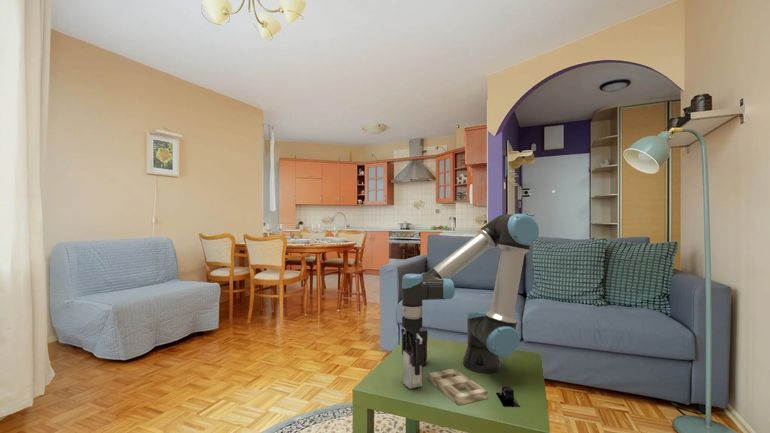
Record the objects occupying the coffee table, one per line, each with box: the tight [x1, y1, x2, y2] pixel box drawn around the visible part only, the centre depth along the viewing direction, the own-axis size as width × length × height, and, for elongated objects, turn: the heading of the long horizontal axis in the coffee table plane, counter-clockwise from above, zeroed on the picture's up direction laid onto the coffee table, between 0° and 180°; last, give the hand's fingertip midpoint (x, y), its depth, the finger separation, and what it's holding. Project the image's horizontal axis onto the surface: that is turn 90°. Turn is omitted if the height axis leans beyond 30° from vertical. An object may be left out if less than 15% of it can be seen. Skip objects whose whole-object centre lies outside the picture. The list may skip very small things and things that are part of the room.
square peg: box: [402, 349, 423, 390], centre depth 128 cm, size 5×5×12 cm
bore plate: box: [427, 368, 489, 406], centre depth 127 cm, size 12×20×2 cm, turn 23°
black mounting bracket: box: [495, 384, 521, 408], centre depth 119 cm, size 12×7×5 cm, turn 178°
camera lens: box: [413, 326, 429, 367], centre depth 149 cm, size 8×8×15 cm
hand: (412, 379), depth 128 cm, fingers closed on square peg, 5 cm apart
